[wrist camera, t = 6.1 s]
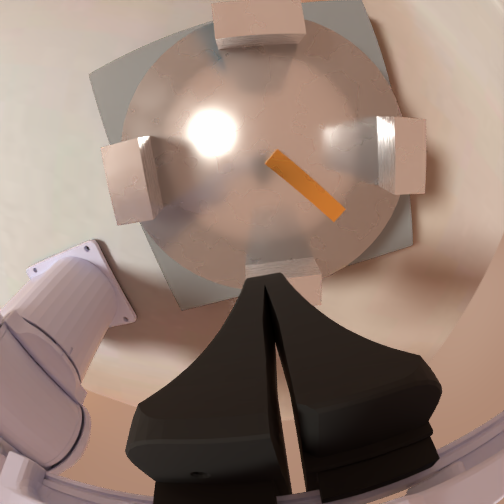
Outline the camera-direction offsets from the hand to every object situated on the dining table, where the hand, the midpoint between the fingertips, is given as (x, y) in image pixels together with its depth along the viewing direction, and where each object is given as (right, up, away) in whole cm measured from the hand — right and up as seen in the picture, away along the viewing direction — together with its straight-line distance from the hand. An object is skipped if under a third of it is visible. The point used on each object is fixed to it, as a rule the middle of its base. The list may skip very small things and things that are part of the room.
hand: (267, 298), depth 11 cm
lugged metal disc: (0, +7, +5) cm, 9 cm away
